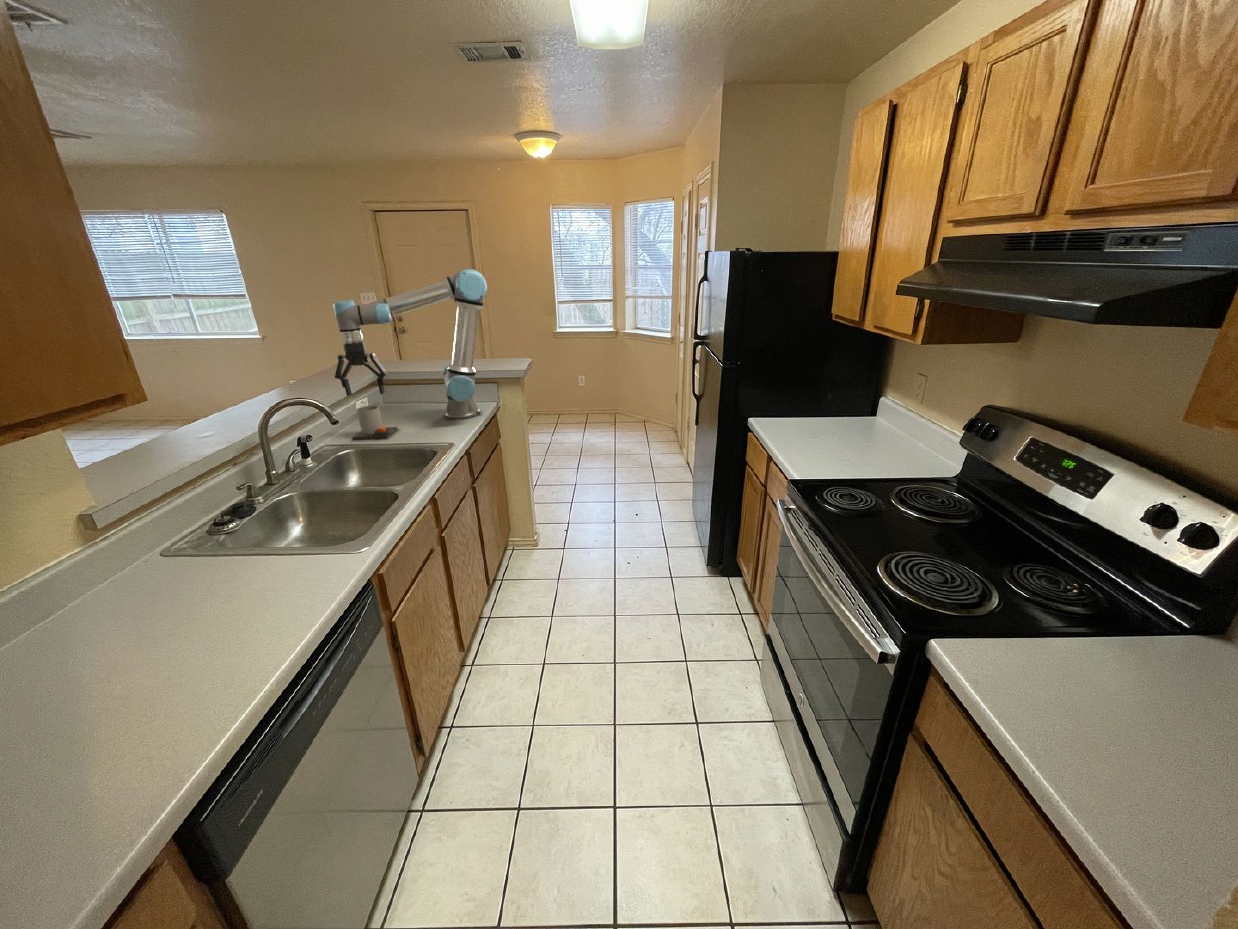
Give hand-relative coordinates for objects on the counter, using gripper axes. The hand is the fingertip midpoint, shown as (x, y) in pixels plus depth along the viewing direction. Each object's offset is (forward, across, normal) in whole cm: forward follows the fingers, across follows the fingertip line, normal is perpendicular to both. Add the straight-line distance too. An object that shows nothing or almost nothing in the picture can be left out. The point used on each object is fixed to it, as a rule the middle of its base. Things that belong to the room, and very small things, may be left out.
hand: (366, 394), depth 208 cm
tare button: (+15, +5, -5) cm, 16 cm away
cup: (+16, -1, 0) cm, 16 cm away
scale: (+17, +1, -2) cm, 17 cm away
